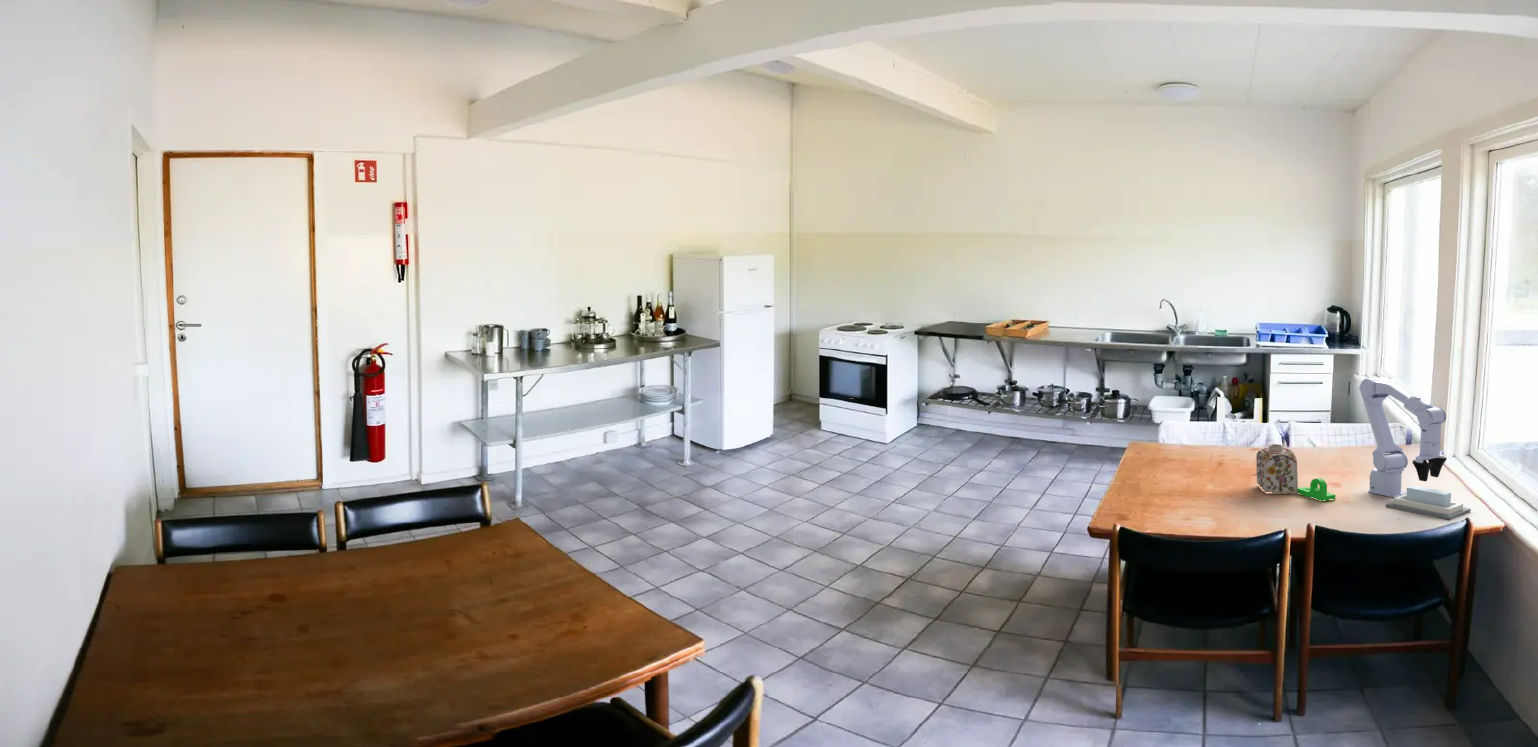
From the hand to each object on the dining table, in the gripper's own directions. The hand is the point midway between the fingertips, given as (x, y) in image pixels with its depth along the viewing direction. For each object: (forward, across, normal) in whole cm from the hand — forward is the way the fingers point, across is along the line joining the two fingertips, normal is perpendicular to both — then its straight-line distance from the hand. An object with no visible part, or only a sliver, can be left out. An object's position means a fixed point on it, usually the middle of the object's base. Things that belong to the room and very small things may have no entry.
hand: (1428, 478), depth 315 cm
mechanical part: (+10, -16, +30) cm, 36 cm away
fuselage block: (+9, -3, -1) cm, 10 cm away
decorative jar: (+10, -19, +43) cm, 48 cm away
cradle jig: (+10, -3, -1) cm, 11 cm away
